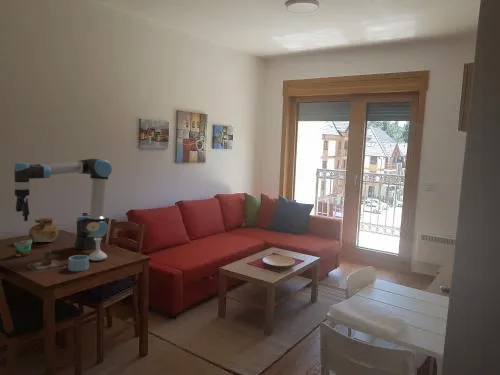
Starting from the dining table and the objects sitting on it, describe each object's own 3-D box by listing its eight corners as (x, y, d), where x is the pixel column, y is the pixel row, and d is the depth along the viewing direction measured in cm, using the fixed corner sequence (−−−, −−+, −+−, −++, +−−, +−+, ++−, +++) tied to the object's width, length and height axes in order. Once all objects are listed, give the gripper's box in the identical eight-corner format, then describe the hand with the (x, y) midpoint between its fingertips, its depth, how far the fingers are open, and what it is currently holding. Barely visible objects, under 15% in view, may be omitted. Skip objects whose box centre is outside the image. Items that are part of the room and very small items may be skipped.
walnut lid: (55, 261, 236) (55, 246, 235) (63, 266, 226) (63, 251, 225) (30, 265, 226) (30, 250, 225) (37, 271, 216) (37, 255, 215)
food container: (22, 258, 239) (22, 243, 238) (14, 257, 240) (13, 242, 239) (36, 253, 251) (36, 238, 250) (28, 252, 252) (28, 238, 251)
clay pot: (20, 238, 274) (30, 212, 278) (43, 243, 289) (52, 218, 294) (36, 242, 265) (46, 215, 269) (58, 247, 280) (68, 222, 285)
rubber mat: (56, 260, 238) (56, 260, 238) (66, 267, 226) (66, 266, 226) (26, 265, 226) (26, 265, 226) (35, 273, 214) (35, 272, 214)
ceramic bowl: (84, 264, 233) (84, 254, 232) (91, 269, 225) (91, 258, 225) (65, 268, 225) (65, 257, 224) (72, 273, 217) (72, 261, 217)
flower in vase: (108, 257, 252) (109, 220, 249) (105, 262, 241) (105, 223, 238) (88, 256, 249) (88, 220, 247) (83, 262, 238) (83, 223, 236)
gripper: (9, 186, 228) (10, 221, 230) (20, 191, 210) (20, 228, 213) (23, 186, 233) (24, 219, 236) (35, 191, 216) (35, 227, 218)
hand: (22, 224), depth 224 cm, fingers open, 13 cm apart
